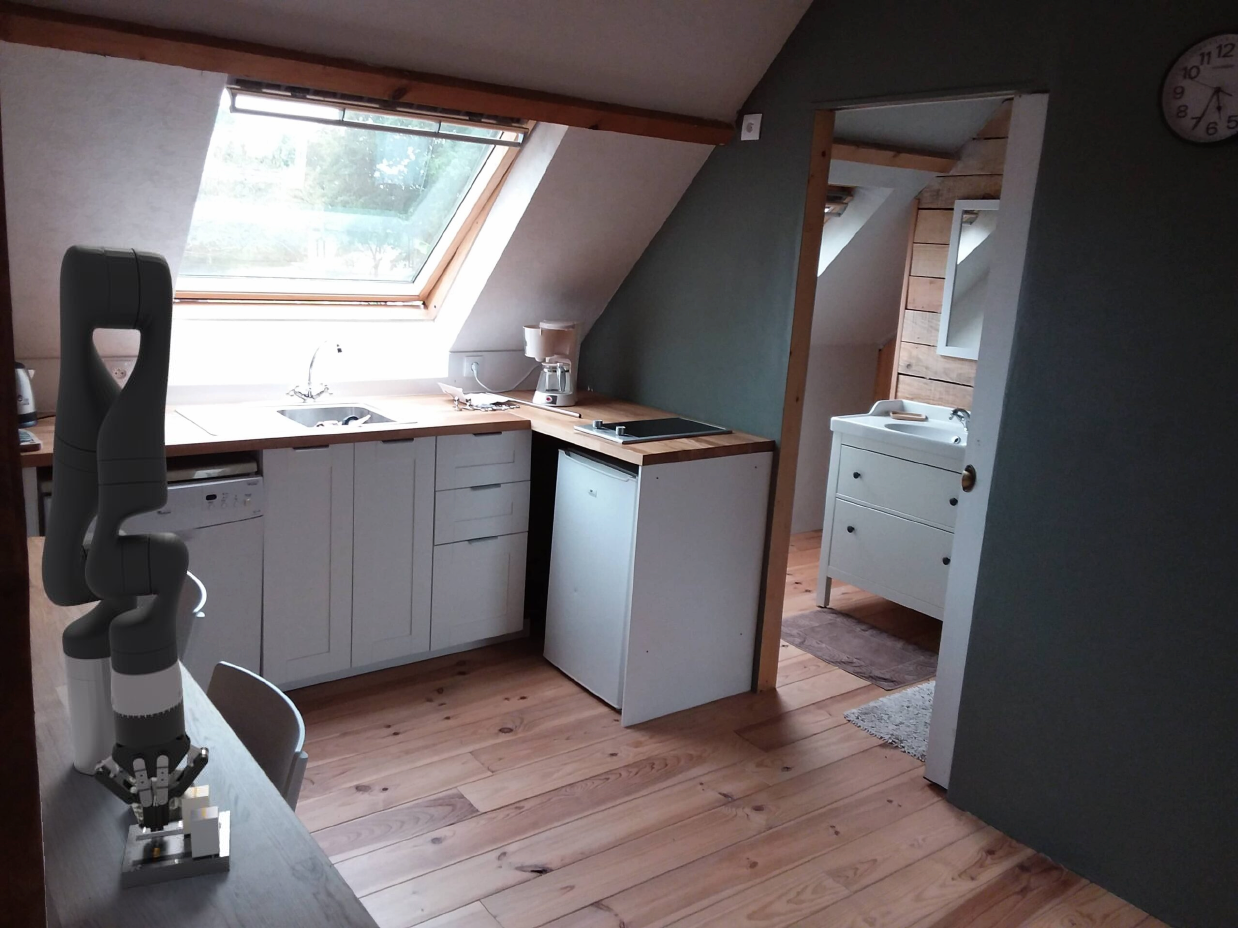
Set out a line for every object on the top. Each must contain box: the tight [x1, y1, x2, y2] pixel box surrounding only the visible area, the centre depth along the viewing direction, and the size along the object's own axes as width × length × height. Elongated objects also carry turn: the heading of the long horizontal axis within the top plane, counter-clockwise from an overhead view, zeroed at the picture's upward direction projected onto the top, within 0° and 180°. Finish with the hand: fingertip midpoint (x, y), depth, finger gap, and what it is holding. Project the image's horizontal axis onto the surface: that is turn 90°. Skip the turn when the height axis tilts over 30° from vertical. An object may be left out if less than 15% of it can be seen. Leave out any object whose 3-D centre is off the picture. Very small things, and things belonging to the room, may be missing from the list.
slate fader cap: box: [190, 805, 220, 858], centre depth 117 cm, size 2×3×5 cm
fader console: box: [120, 810, 232, 889], centre depth 120 cm, size 10×12×2 cm
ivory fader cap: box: [181, 784, 211, 834], centre depth 122 cm, size 2×3×5 cm
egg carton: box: [128, 767, 196, 824], centre depth 128 cm, size 11×8×4 cm
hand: (157, 827), depth 120 cm, fingers closed
